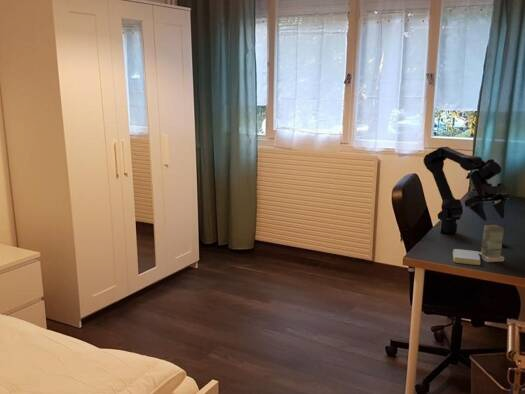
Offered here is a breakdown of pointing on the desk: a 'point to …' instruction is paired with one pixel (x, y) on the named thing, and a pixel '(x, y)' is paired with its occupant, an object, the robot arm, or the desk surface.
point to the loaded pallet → (492, 243)
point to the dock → (466, 257)
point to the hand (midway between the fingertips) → (494, 219)
